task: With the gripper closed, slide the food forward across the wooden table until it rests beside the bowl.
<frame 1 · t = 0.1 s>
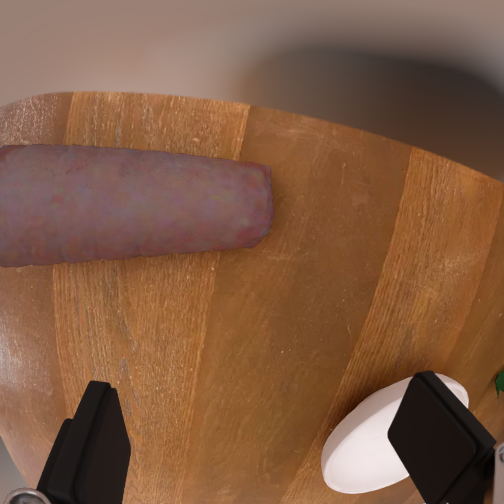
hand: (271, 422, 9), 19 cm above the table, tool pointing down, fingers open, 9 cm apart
food: (132, 206, 25), on the table
bowl: (379, 410, 35), on the table
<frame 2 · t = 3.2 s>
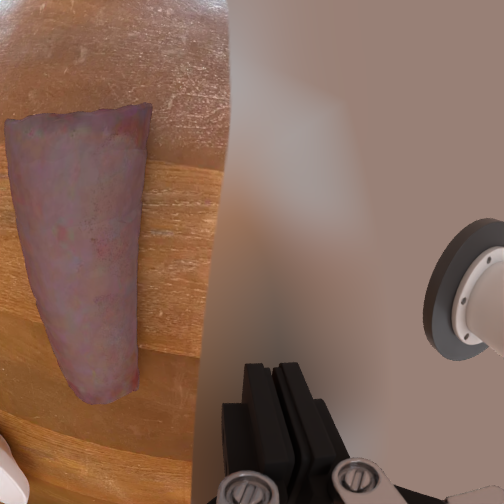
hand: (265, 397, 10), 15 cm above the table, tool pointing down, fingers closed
food: (91, 248, 23), on the table
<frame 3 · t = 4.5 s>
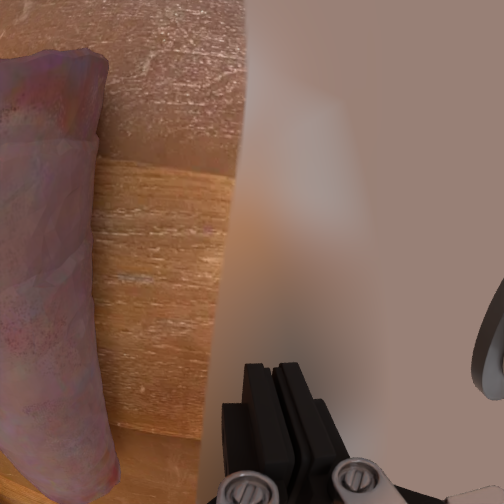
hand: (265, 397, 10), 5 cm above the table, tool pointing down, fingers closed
food: (36, 297, 14), on the table
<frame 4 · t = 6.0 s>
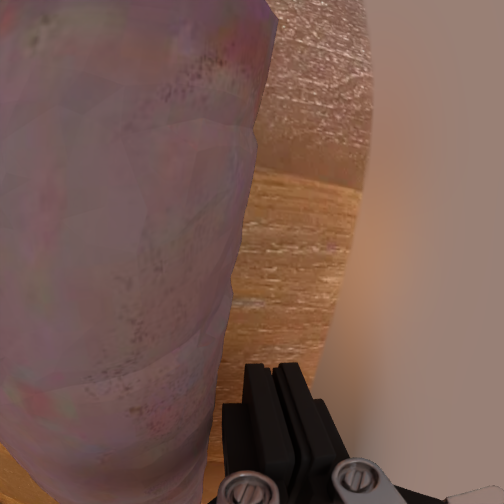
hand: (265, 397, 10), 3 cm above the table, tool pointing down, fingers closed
food: (101, 327, 12), on the table, touching gripper
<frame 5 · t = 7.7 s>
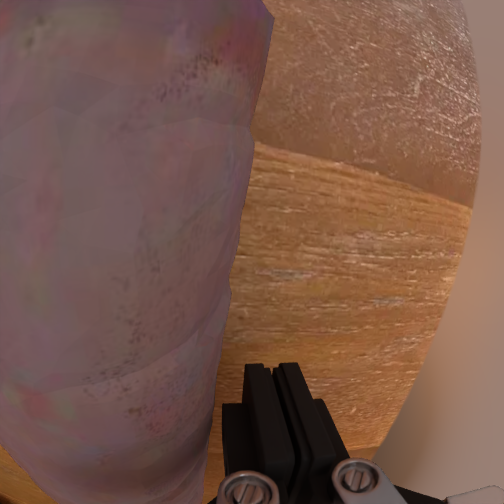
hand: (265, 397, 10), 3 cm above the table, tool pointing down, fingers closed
food: (100, 328, 12), on the table, touching gripper
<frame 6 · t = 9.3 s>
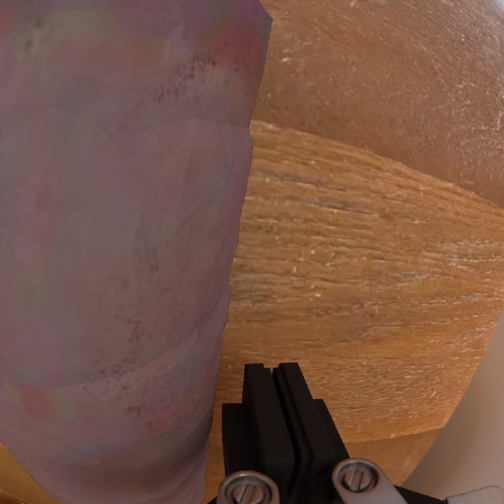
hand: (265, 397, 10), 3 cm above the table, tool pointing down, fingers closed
food: (101, 328, 12), on the table, touching gripper
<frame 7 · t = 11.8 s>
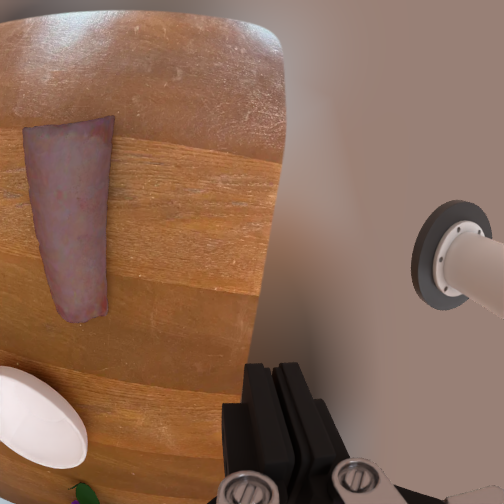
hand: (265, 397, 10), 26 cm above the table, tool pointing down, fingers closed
flower: (87, 492, 46), on the table
food: (77, 214, 32), on the table
bowl: (40, 397, 38), on the table
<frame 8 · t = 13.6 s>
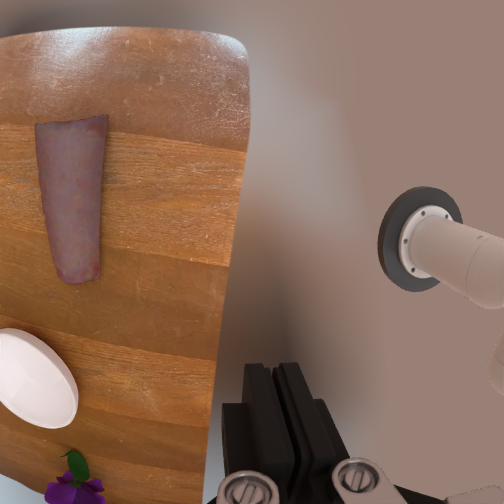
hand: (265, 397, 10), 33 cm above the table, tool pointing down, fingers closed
flower: (79, 462, 52), on the table
food: (77, 195, 38), on the table
bowl: (40, 361, 44), on the table
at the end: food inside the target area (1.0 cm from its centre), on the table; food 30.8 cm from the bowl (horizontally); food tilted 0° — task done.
